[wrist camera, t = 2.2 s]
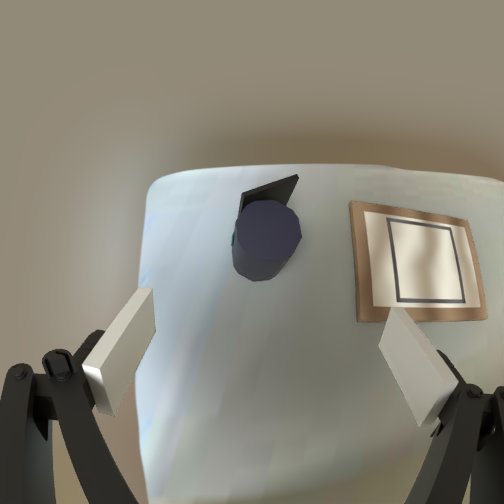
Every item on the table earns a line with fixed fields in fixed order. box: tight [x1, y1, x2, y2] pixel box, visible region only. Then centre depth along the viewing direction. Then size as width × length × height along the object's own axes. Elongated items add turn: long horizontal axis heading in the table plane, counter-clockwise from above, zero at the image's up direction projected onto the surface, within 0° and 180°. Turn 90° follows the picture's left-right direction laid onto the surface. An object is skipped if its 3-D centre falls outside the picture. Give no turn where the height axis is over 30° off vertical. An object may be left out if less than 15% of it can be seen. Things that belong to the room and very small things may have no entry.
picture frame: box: [349, 201, 488, 322], centre depth 33 cm, size 20×15×1 cm
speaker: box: [231, 174, 302, 281], centre depth 29 cm, size 8×6×10 cm
